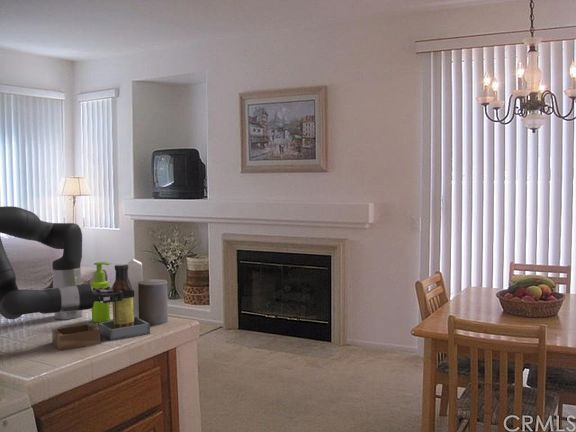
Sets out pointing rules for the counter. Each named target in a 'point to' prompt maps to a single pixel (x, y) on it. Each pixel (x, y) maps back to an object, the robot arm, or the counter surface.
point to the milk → (135, 281)
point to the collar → (75, 336)
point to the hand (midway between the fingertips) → (130, 291)
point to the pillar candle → (153, 301)
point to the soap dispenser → (99, 309)
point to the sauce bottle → (124, 308)
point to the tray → (124, 329)
